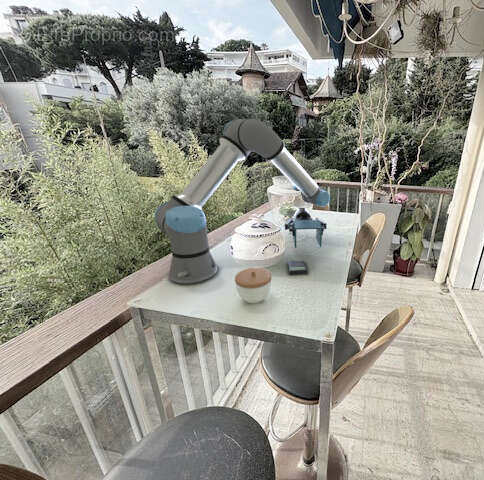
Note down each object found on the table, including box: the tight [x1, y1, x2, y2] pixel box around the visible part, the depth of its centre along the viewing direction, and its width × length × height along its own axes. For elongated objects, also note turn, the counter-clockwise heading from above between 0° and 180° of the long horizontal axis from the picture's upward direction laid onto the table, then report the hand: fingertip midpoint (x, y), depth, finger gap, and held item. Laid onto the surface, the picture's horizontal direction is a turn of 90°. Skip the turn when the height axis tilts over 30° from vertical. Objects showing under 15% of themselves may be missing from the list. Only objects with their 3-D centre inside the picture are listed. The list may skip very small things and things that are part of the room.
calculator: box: [287, 260, 308, 275], centre depth 101 cm, size 8×6×2 cm
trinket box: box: [234, 267, 273, 304], centre depth 80 cm, size 11×11×9 cm
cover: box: [292, 219, 323, 249], centre depth 113 cm, size 11×11×8 cm
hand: (308, 232), depth 109 cm, fingers closed on cover, 11 cm apart
